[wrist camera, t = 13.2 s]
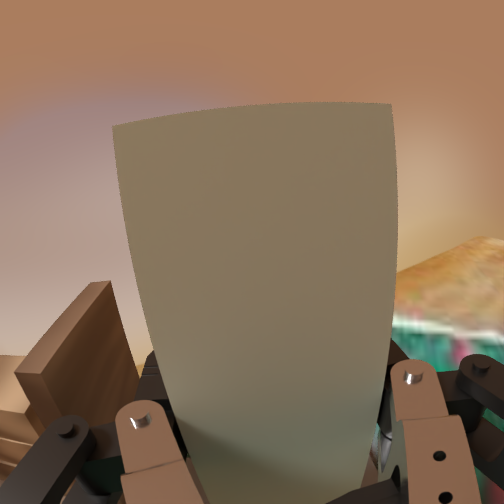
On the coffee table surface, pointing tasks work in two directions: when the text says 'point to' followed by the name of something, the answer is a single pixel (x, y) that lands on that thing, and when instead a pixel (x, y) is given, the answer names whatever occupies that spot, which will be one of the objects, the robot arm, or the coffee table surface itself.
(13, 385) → the oak offcut stack
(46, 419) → the walnut rack
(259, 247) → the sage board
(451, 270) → the coffee table surface
